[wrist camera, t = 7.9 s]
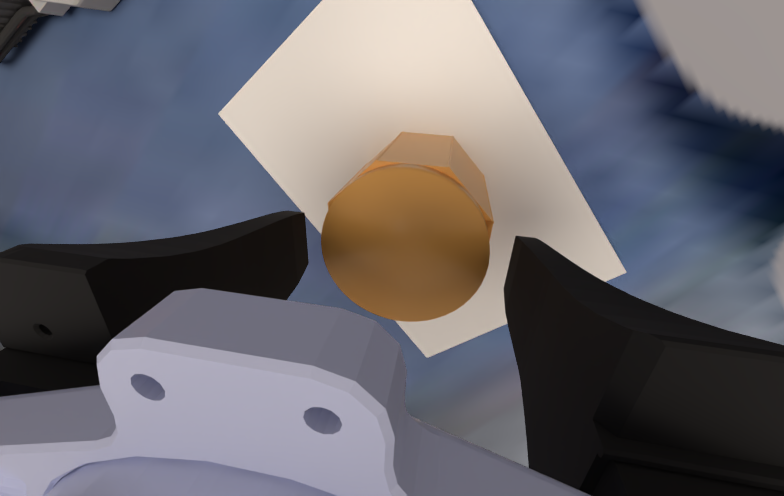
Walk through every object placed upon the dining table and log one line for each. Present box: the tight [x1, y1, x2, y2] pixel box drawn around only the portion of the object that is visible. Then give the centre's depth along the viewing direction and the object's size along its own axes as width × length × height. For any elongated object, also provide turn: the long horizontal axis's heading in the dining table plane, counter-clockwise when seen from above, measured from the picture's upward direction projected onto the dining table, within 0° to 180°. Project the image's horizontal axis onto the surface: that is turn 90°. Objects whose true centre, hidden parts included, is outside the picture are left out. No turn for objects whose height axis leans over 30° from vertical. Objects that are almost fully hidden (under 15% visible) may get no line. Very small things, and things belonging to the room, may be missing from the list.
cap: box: [321, 132, 494, 322], centre depth 14 cm, size 6×6×6 cm
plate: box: [219, 0, 627, 358], centre depth 16 cm, size 18×12×5 cm, turn 38°
